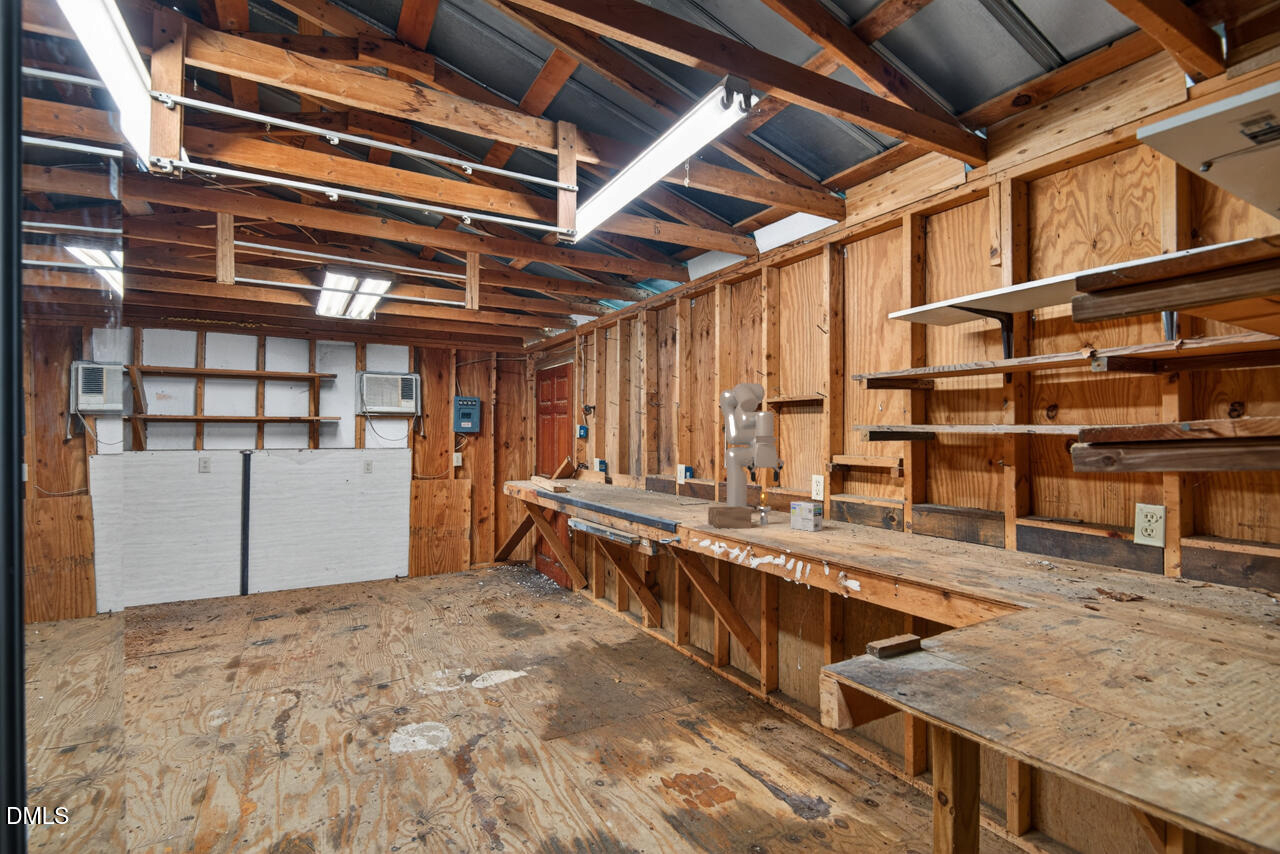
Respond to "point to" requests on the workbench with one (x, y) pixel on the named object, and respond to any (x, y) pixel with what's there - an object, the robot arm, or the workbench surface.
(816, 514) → the light bulb box
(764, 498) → the multicoloured piece
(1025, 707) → the workbench surface
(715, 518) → the block
